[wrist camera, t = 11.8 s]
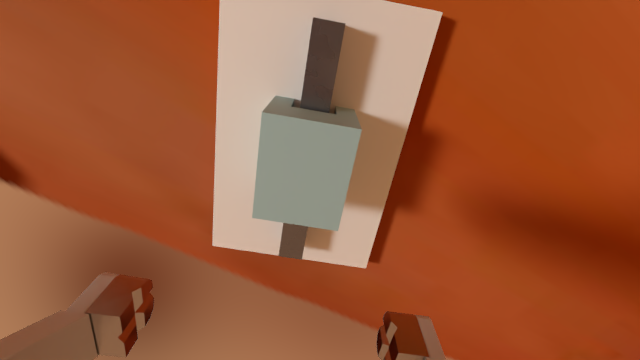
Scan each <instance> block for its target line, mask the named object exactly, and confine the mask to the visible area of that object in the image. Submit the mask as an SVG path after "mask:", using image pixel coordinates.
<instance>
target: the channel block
mask: <svg viewBox="0 0 640 360" xmlns="http://www.w3.org/2000/svg"><path fill="white" fill-rule="evenodd" d="M361 131H362V128H361V126H360V123H359V121H358V118H357V115H356V113H355V110H354V109H349V108H344V107H338V106H336V107H335V112H334V114H331V113H325V112H319V111H314V110H308V109H302V108H297V107H294V99H293V98H287V97H281V96H275V97H274V98H273V99H272V100H271V102H270V103H269V104H268V105H267V106H266V108H265V109H264V110H263V111H262V116H261V127H260V138H259V149H258V159H257V170H256V181H255V192H254V203H253V214H252V218H256V219H262V220H269V221H275V222H282V223H288V224H295V225H301V226H308V227H314V228H321V229H327V230H334V231H338V229H339V225H340V220H341V216H342V212H343V208H344V203H345V199H346V195H347V191H348V186H349V182H350V178H351V174H352V169H353V165H354V161H355V157H356V152H357V148H358V144H359V140H360V135H361Z"/></svg>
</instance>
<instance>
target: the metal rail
mask: <svg viewBox="0 0 640 360" xmlns="http://www.w3.org/2000/svg"><path fill="white" fill-rule="evenodd" d="M345 24H346V23H341V22H335V21H330V20H325V19H320V18H315V17H313V21H312V27H311V34H310V41H309V48H308V55H307V62H306V69H305V76H304V83H303V90H302V97H301V104H300V108H302V109H308V110H314V111H319V112H325V113H329V110H330V105H331V100H332V94H333V89H334V84H335V78H336V73H337V67H338V62H339V57H340V51H341V46H342V40H343V35H344V30H345ZM307 229H308V226H301V225H295V224H288V223H283V229H282V235H281V242H280V249H279V256H282V257H289V258H296V259H302V256H303V251H304V245H305V240H306V235H307Z"/></svg>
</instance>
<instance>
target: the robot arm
mask: <svg viewBox="0 0 640 360" xmlns="http://www.w3.org/2000/svg"><path fill="white" fill-rule="evenodd" d="M152 288H153V284H152V280H150V279H146V278H139V277H133V276H127V275H121V274H120V275H119V274H113V273H107V272H104V273H102V274H100V275H99V276H98V277H97V278H96V279H95V280H94V281H93V282H92V283H91V284H90V286H89V287H88V288H87V289H86V290H85V291H84V292H83V293H82V294H81V295H80V296H79V297H78V298H77V299H76V300H75V302H74V303H73V304H72V305H71V306H70V307H69V308H68V309H67V310H66V311H61V310H60V311H58V312H57V313H54V314H53V315H50V316H48V317H46V318H44V319H42V320H40V321H38V322H36V323H34V324H32V325H30V326H27V327H26V328H23V329H21V330H19V331H17V332H15V333H13V334H11V335H9V336H7V337H5V338H3V339H1V340H0V360H94V359H95V358H96V357H97V356H98V355H106V356H117V357H127V355H128V354H129V352H130V350H131V349H132V347H133V345H134V344H135V342H136V341H137V339H138V335H137V331H138V330H140V329H142V328H143V327H145V326H146V324H147V322H148V321H149V319H150V317H151V314H152V311H153V307H154V297H153V296H152V295H151V294H150V291H151V290H152ZM383 322H384V325H383V326H381V327H380V328H379V331H378V335H377V353H378V357H379V358H380V359H381V360H446V358H445V356H444V353H443V350H442V348H441V345H440V342H439V340H438V337H437V334H436V332H435V329H434V326H433V324H432V321H431V319H430V318H429V317H428V316H420V315H413V314H405V313H397V312H389V311H387V312H386V313H385V314H384V317H383Z"/></svg>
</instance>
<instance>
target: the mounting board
mask: <svg viewBox="0 0 640 360" xmlns="http://www.w3.org/2000/svg"><path fill="white" fill-rule="evenodd" d="M442 13H443V12H439V11H434V10H429V9H424V8H419V7H414V6H409V5H404V4H399V3H394V2H389V1H384V0H220V12H219V45H218V78H217V111H216V144H215V177H214V210H213V243H212V246H218V247H225V248H231V249H238V250H245V251H252V252H258V253H265V254H272V255H279V249H280V242H281V235H282V229H283V223H282V222H275V221H269V220H262V219H256V218H252V214H253V203H254V192H255V181H256V170H257V159H258V149H259V138H260V127H261V116H262V111H263V110H264V109H265V108H266V106H267V105H268V104H269V103H270V102H271V100H272V99H273V98H274V97H275V96H281V97H287V98H293V99H294V107H297V108H300V104H301V97H302V90H303V83H304V76H305V69H306V62H307V55H308V48H309V41H310V34H311V27H312V21H313V17H315V18H320V19H325V20H330V21H335V22H341V23H346V24H345V30H344V35H343V40H342V46H341V51H340V57H339V62H338V67H337V73H336V78H335V84H334V89H333V94H332V100H331V105H330V110H329V113H331V114H334V112H335V107H336V106H338V107H344V108H349V109H354V110H355V113H356V115H357V118H358V121H359V123H360V126H361V128H362V131H361V135H360V140H359V144H358V148H357V152H356V157H355V161H354V165H353V169H352V174H351V178H350V182H349V186H348V191H347V195H346V199H345V203H344V208H343V212H342V216H341V220H340V225H339V229H338V231H334V230H327V229H321V228H314V227H308V229H307V235H306V240H305V245H304V251H303V256H302V259H306V260H313V261H319V262H326V263H333V264H340V265H346V266H353V267H360V268H366V266H367V263H368V260H369V256H370V253H371V250H372V246H373V243H374V240H375V236H376V233H377V230H378V226H379V223H380V220H381V216H382V213H383V210H384V206H385V203H386V200H387V196H388V193H389V190H390V186H391V183H392V180H393V176H394V173H395V170H396V166H397V163H398V160H399V156H400V153H401V150H402V146H403V143H404V140H405V136H406V133H407V130H408V126H409V123H410V120H411V116H412V113H413V110H414V106H415V103H416V100H417V96H418V93H419V90H420V86H421V83H422V80H423V76H424V73H425V70H426V66H427V63H428V60H429V56H430V53H431V50H432V46H433V43H434V40H435V36H436V33H437V30H438V26H439V23H440V20H441V16H442Z"/></svg>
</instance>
